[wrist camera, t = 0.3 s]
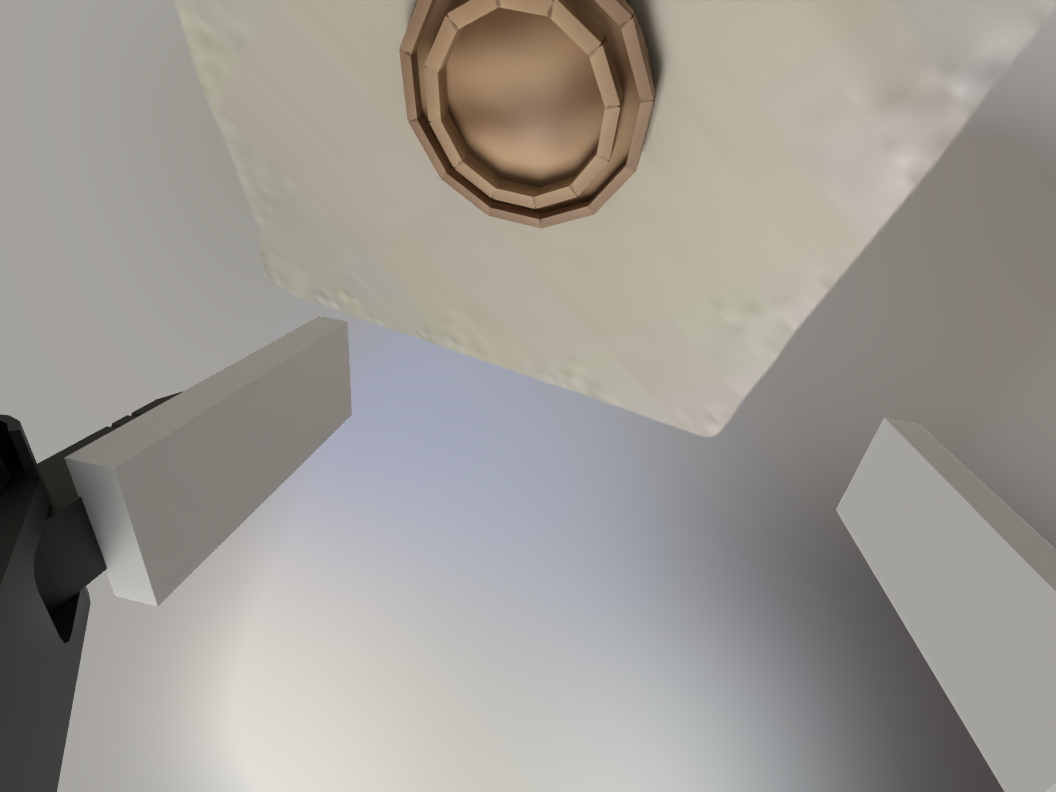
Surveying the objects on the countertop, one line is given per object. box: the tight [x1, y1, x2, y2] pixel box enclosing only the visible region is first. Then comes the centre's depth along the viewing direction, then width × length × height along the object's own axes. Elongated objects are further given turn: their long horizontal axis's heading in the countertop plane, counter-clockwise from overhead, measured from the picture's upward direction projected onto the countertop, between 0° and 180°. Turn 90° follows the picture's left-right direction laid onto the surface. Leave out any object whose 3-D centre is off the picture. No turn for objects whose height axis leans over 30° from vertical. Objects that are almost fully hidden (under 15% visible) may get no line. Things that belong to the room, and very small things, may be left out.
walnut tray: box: [399, 0, 655, 228], centre depth 36 cm, size 18×18×2 cm
